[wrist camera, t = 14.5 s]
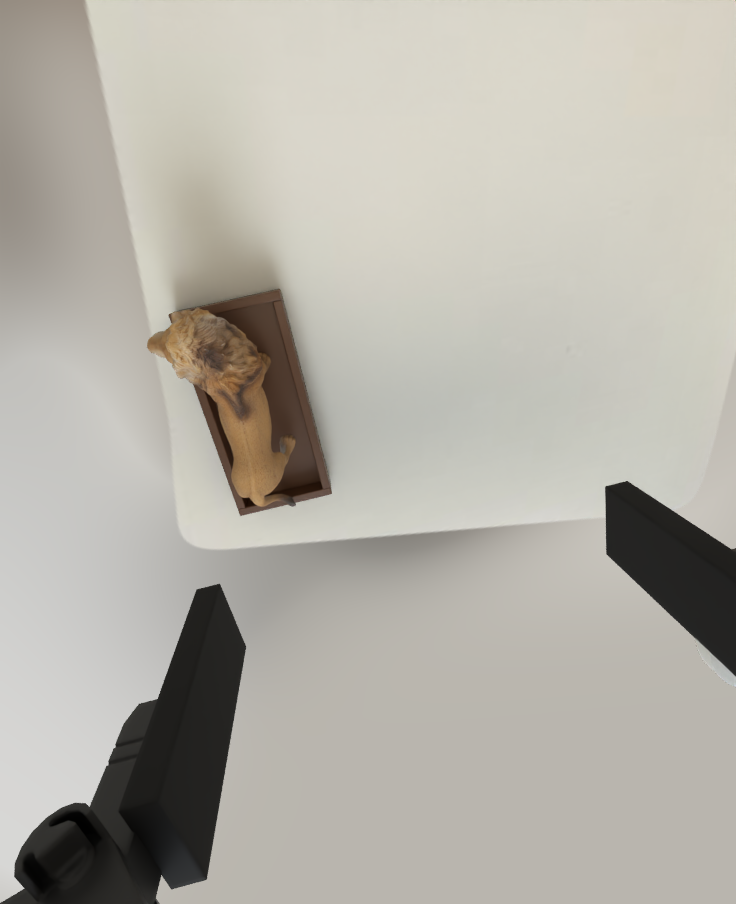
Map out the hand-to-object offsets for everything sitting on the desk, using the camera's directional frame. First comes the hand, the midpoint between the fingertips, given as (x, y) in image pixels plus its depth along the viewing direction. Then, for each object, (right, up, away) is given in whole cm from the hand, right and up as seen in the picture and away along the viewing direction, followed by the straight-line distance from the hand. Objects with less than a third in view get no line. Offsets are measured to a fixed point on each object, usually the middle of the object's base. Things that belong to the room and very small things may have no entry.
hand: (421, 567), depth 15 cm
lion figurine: (-10, +7, +18) cm, 22 cm away
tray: (-10, +7, +19) cm, 23 cm away
